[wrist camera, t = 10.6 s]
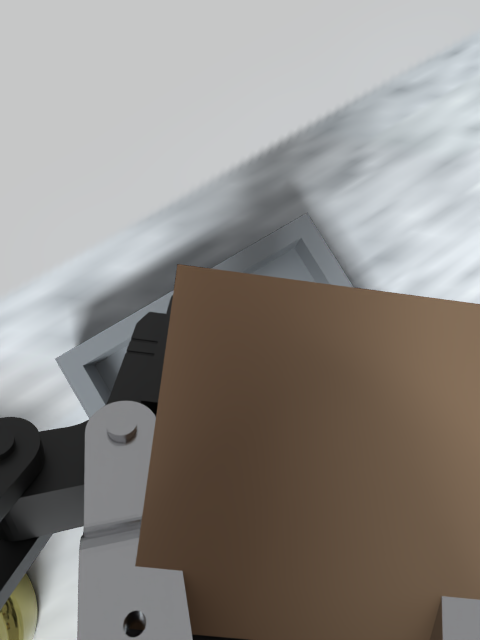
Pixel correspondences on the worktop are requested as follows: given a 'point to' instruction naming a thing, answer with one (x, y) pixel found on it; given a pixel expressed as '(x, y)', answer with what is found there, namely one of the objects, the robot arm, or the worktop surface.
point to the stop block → (315, 458)
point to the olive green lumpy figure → (19, 613)
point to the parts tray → (111, 344)
